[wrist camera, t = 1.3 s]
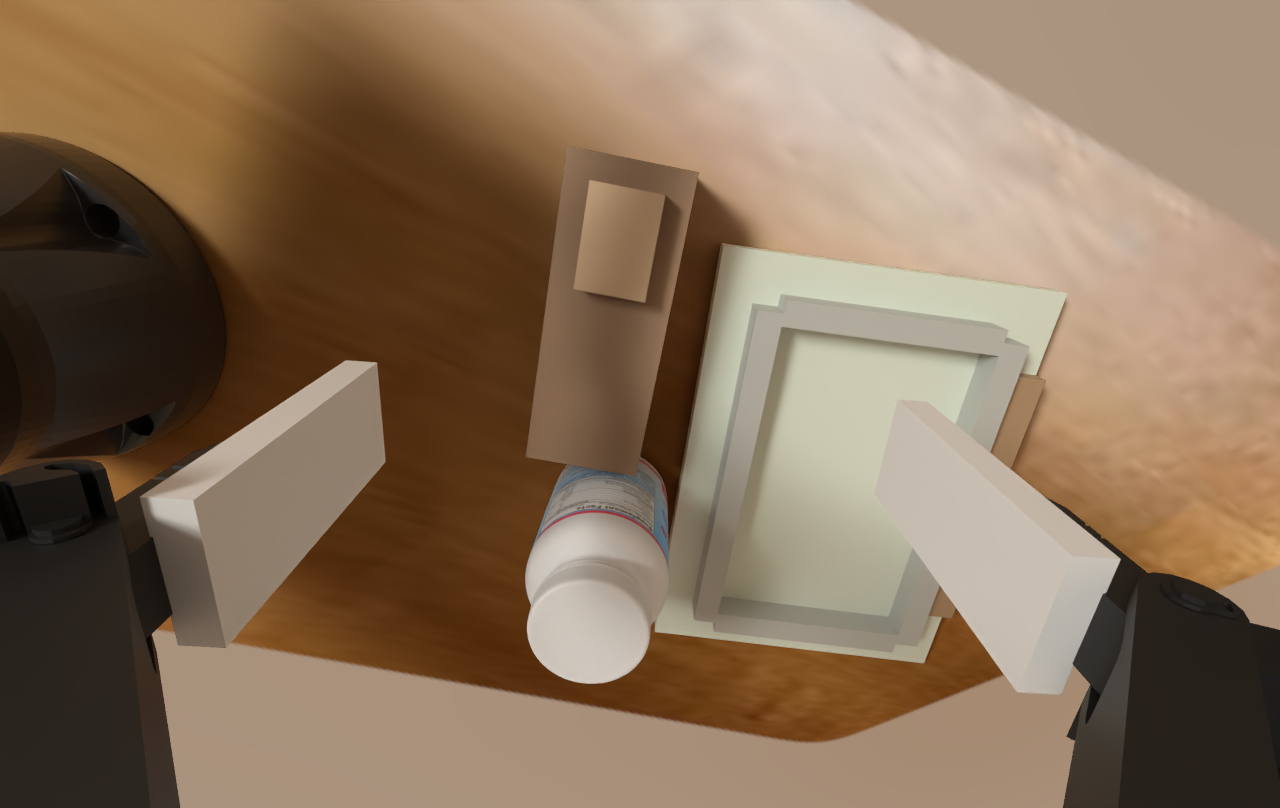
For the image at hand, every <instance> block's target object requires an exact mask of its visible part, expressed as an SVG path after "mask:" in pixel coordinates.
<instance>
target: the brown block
mask: <svg viewBox="0 0 1280 808" xmlns="http://www.w3.org/2000/svg"><path fill="white" fill-rule="evenodd" d="M698 175H699V172H695V171H690V170H685V169H680V168H675V167H670V166H665V165H660V164H655V163H650V162H645V161H640V160H635V159H630V158H625V157H620V156H615V155H610V154H606V153H601V152H596V151H591V150H586V149H581V148H576V147H571V146H567V149H566V156H565V164H564V171H563V179H562V186H561V194H560V201H559V209H558V217H557V224H556V232H555V239H554V247H553V254H552V262H551V270H550V277H549V285H548V292H547V300H546V307H545V315H544V322H543V330H542V338H541V345H540V353H539V360H538V368H537V375H536V383H535V390H534V398H533V406H532V413H531V421H530V428H529V436H528V443H527V451H526V457H528V458H534V459H540V460H545V461H551V462H557V463H563V464H568V465H574V466H580V467H586V468H591V469H597V470H603V471H609V472H614V473H620V474H626V475H632V476H636V473H637V468H638V464H639V459H640V454H641V449H642V444H643V440H644V435H645V430H646V425H647V420H648V415H649V411H650V406H651V401H652V396H653V391H654V387H655V382H656V377H657V372H658V367H659V363H660V358H661V353H662V348H663V343H664V338H665V334H666V329H667V324H668V319H669V314H670V310H671V305H672V300H673V295H674V290H675V285H676V281H677V276H678V271H679V266H680V261H681V257H682V252H683V247H684V242H685V237H686V232H687V228H688V223H689V218H690V213H691V208H692V204H693V199H694V194H695V189H696V184H697V179H698Z"/></svg>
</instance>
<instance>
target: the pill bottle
mask: <svg viewBox="0 0 1280 808" xmlns="http://www.w3.org/2000/svg"><path fill="white" fill-rule="evenodd" d="M525 584H526V591H527V595H528V599H529V601H530V604H531V609H530V613H529V617H528V621H527V635H528V640H529V643H530V646H531V649H532V651H533V652H534V654H535V656H536V657H537V659H538V660H539V661H540V662H541V663H542V664H543V665H544V666H545V667H546V668H547V669H549V670H550V671H551V672H553V673H554V674H556V675H558V676H560V677H562V678H564V679H567V680H570V681H573V682H578V683H587V684H596V683H605V682H609V681H613V680H616V679H618V678H620V677H622V676H624V675H626V674H627V673H629V672H630V671H632V670H633V669H634V668H635V667H636V666H637V665H638V664H639V663H640V661H641V660H642V659H643V657H644V655H645V653H646V651H647V648H648V645H649V641H650V627H651V625H652V623H653V622H654V621H655V620H656V619H657V617H658V616H659V614H660V612H661V611H662V609H663V606H664V604H665V601H666V598H667V593H668V586H669V550H668V504H667V492H666V488H665V485H664V482H663V480H662V478H661V476H660V474H659V473H658V471H657V470H656V469H655V468H654V467H653V466H652V465H651V464H650V463H649V462H648V461H646V460H645V459H643V458H642V457H640V459H639V464H638V468H637V473H636V476H632V475H626V474H620V473H614V472H609V471H603V470H597V469H591V468H586V467H580V466H574V465H567V466H566V467H565V468H564V469H563V471H562V472H561V474H560V476H559V478H558V480H557V482H556V485H555V488H554V490H553V493H552V495H551V498H550V501H549V503H548V506H547V508H546V511H545V514H544V517H543V520H542V522H541V525H540V528H539V531H538V534H537V536H536V539H535V542H534V545H533V547H532V550H531V553H530V556H529V560H528V563H527V567H526V574H525Z"/></svg>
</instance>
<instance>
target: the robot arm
mask: <svg viewBox="0 0 1280 808" xmlns="http://www.w3.org/2000/svg"><path fill="white" fill-rule="evenodd" d="M224 354H225V325H224V317H223V311H222V307H221V303H220V299H219V296H218V292H217V289H216V286H215V284H214V281H213V278H212V276H211V274H210V272H209V269H208V267H207V265H206V263H205V261H204V259H203V257H202V256H201V254H200V252H199V250H198V249H197V247H196V246H195V244H194V242H193V241H192V239H191V238H190V236H189V235H188V234H187V232H186V231H185V229H184V228H183V227H182V226H181V224H180V223H179V222H178V221H177V219H176V218H175V217H174V216H173V215H172V214H171V212H170V211H169V210H168V209H167V208H166V207H165V206H164V205H163V204H162V203H161V202H160V201H159V200H158V199H157V198H156V197H155V196H154V195H153V194H152V193H151V192H149V191H148V190H147V189H146V188H145V187H144V186H142V185H141V184H140V183H139V182H137V181H136V180H135V179H134V178H132V177H131V176H129V175H128V174H127V173H125V172H124V171H122V170H121V169H119V168H118V167H116V166H114V165H113V164H111V163H110V162H108V161H106V160H104V159H102V158H101V157H99V156H97V155H95V154H93V153H91V152H88V151H86V150H84V149H82V148H79V147H77V146H74V145H72V144H69V143H66V142H63V141H59V140H56V139H52V138H48V137H44V136H38V135H32V134H23V133H9V132H0V808H180V803H179V796H178V790H177V783H176V777H175V770H174V763H173V757H172V750H171V743H170V737H169V730H168V724H167V717H166V711H165V704H164V697H163V691H162V684H161V678H160V671H159V665H158V658H157V652H156V648H155V644H154V641H153V637H152V633H153V632H154V631H155V630H156V629H157V628H158V627H159V626H160V625H161V624H162V623H164V622H165V621H166V620H167V619H168V618H169V617H170V616H171V619H172V623H173V627H174V631H175V635H176V638H177V642H178V645H184V646H202V647H219V648H226V647H228V645H229V644H230V643H231V642H232V641H233V640H234V638H235V637H236V636H237V635H238V634H239V633H240V631H241V630H242V629H243V628H244V627H245V626H246V624H247V623H248V622H249V621H250V620H251V619H252V617H253V616H254V615H255V614H256V613H257V612H258V610H259V609H260V608H261V607H262V606H263V605H264V603H265V602H266V601H267V600H268V599H269V598H270V596H271V595H272V594H273V593H274V592H275V591H276V589H277V588H278V587H279V586H280V585H281V584H282V582H283V581H284V580H285V579H286V578H287V577H288V575H289V574H290V573H291V572H292V571H293V569H294V568H295V567H296V566H297V565H298V564H299V562H300V561H301V560H302V559H303V558H304V557H305V555H306V554H307V553H308V552H309V551H310V550H311V548H312V547H313V546H314V545H315V544H316V543H317V541H318V540H319V539H320V538H321V537H322V536H323V534H324V533H325V532H326V531H327V530H328V529H329V527H330V526H331V525H332V524H333V523H334V522H335V520H336V519H337V518H338V517H339V516H340V515H341V513H342V512H343V511H344V510H345V509H346V508H347V506H348V505H349V504H350V503H351V502H352V501H353V499H354V498H355V497H356V496H357V495H358V494H359V492H360V491H361V490H362V489H363V488H364V487H365V485H366V484H367V483H368V482H369V481H370V480H371V478H372V477H373V476H374V475H375V474H376V473H377V471H378V470H379V469H380V468H381V467H382V466H383V464H384V463H385V462H386V459H385V448H384V436H383V425H382V414H381V402H380V391H379V379H378V368H377V363H376V362H362V361H348V360H346V361H344V362H343V363H341V364H340V365H338V366H337V367H335V368H333V369H332V370H330V371H329V372H327V373H326V374H324V375H323V376H321V377H320V378H318V379H317V380H315V381H314V382H312V383H311V384H309V385H308V386H306V387H305V388H303V389H302V390H300V391H299V392H297V393H296V394H294V395H293V396H291V397H290V398H288V399H287V400H285V401H284V402H282V403H281V404H279V405H278V406H276V407H275V408H273V409H272V410H270V411H269V412H267V413H266V414H264V415H263V416H261V417H259V418H258V419H256V420H255V421H253V422H252V423H250V424H249V425H247V426H246V427H244V428H243V429H241V430H240V431H238V432H237V433H235V434H234V435H232V436H231V437H229V438H228V439H226V440H225V441H223V442H219V443H216V444H214V445H211V446H208V447H206V448H203V449H200V450H198V451H195V452H193V453H191V454H190V455H188V456H186V457H185V458H183V459H182V460H180V461H179V462H177V463H175V464H174V465H172V468H168V469H166V470H165V471H163V472H161V473H160V474H158V475H157V476H155V480H154V479H151V480H149V481H147V482H146V483H144V484H143V485H141V486H140V487H138V488H136V489H135V490H133V491H132V492H130V493H129V494H127V495H126V496H124V497H122V498H121V499H119V500H118V501H116V502H115V501H114V497H113V494H112V490H111V487H110V483H109V480H108V476H107V472H106V469H105V468H104V466H103V465H102V464H101V463H99V462H95V461H96V460H102V459H107V458H112V457H116V456H120V455H123V454H126V453H129V452H132V451H134V450H137V449H140V448H142V447H144V446H146V445H148V444H150V443H152V442H154V441H155V440H157V439H159V438H161V437H163V436H165V435H167V434H168V433H170V432H172V431H174V430H176V429H177V428H179V427H181V426H182V425H184V424H185V423H186V422H188V421H189V420H190V419H191V418H193V417H194V416H195V415H196V414H197V413H198V412H199V411H200V410H201V409H202V407H203V406H204V405H205V403H206V402H207V401H208V399H209V398H210V396H211V394H212V393H213V391H214V389H215V387H216V385H217V382H218V379H219V377H220V374H221V370H222V366H223V361H224ZM874 494H875V496H876V497H877V499H878V500H879V501H880V503H881V504H882V506H883V507H884V508H885V510H886V511H887V513H888V514H889V515H890V517H891V518H892V520H893V521H894V522H895V524H896V525H897V526H898V528H899V529H900V531H901V532H902V533H903V535H904V536H905V538H906V539H907V540H908V542H909V543H910V545H911V546H912V547H913V549H914V550H915V551H916V553H917V554H918V556H919V557H920V558H921V560H922V561H923V563H924V564H925V565H926V567H927V568H928V570H929V571H930V572H931V574H932V575H933V576H934V578H935V579H936V581H937V582H938V583H939V585H940V586H941V588H942V589H943V590H944V592H945V593H946V595H947V596H948V597H949V599H950V600H951V602H952V603H953V604H954V606H955V607H956V608H957V610H958V611H959V613H960V614H961V615H962V617H963V618H964V620H965V621H966V622H967V624H968V625H969V627H970V628H971V629H972V631H973V632H974V633H975V635H976V636H977V638H978V639H979V640H980V642H981V643H982V645H983V646H984V647H985V649H986V650H987V652H988V653H989V654H990V656H991V657H992V658H993V660H994V661H995V663H996V664H997V665H998V667H999V668H1000V670H1001V671H1002V672H1003V674H1004V675H1005V677H1006V678H1007V679H1008V681H1009V682H1010V683H1011V685H1012V686H1013V688H1014V689H1015V690H1016V692H1018V693H1036V694H1053V695H1061V694H1062V692H1063V690H1064V687H1065V685H1066V683H1067V681H1068V678H1069V676H1070V674H1071V672H1072V669H1073V667H1074V666H1075V667H1076V668H1077V670H1078V671H1079V672H1080V673H1081V674H1082V675H1083V676H1084V678H1085V679H1086V680H1087V681H1088V682H1089V683H1090V686H1089V689H1088V691H1087V693H1086V695H1085V697H1084V699H1083V702H1082V704H1081V706H1080V708H1079V710H1078V712H1077V715H1076V717H1075V719H1074V721H1073V723H1072V726H1071V728H1070V730H1069V732H1068V734H1067V737H1069V738H1070V739H1072V740H1075V744H1074V750H1073V756H1072V761H1071V767H1070V772H1069V778H1068V783H1067V788H1066V794H1065V799H1064V805H1063V808H1280V630H1278V629H1274V628H1269V627H1265V626H1261V625H1257V624H1253V623H1250V622H1249V619H1248V618H1247V616H1246V615H1245V613H1244V611H1243V610H1242V609H1241V608H1239V607H1238V606H1237V605H1236V604H1234V603H1233V602H1232V601H1231V600H1229V599H1228V598H1226V597H1224V596H1223V595H1221V594H1219V593H1217V592H1216V591H1214V590H1212V589H1210V588H1208V587H1206V586H1203V585H1201V584H1198V583H1196V582H1194V581H1191V580H1188V579H1185V578H1181V577H1178V576H1174V575H1171V574H1163V573H1155V572H1154V573H1147V572H1146V571H1145V570H1143V569H1142V568H1141V567H1140V566H1138V565H1137V564H1136V563H1135V562H1133V561H1132V560H1131V559H1130V558H1128V557H1127V556H1126V555H1125V554H1123V553H1122V552H1121V551H1120V550H1118V549H1117V548H1116V547H1115V546H1113V545H1112V544H1111V543H1110V542H1108V541H1107V540H1106V539H1102V538H1101V535H1100V534H1098V533H1097V532H1096V531H1095V530H1093V529H1092V528H1091V527H1090V526H1085V522H1083V521H1082V520H1081V519H1080V518H1078V517H1077V516H1076V515H1075V514H1073V513H1072V512H1071V511H1070V510H1068V509H1067V508H1065V507H1064V506H1062V505H1060V504H1058V503H1056V502H1054V501H1052V500H1050V499H1048V498H1046V497H1045V496H1043V495H1041V494H1040V493H1039V492H1038V491H1037V490H1035V489H1034V488H1033V487H1032V486H1030V485H1029V484H1028V483H1027V482H1026V481H1024V480H1023V479H1022V478H1021V477H1019V476H1018V475H1017V474H1016V473H1014V472H1013V471H1012V470H1011V469H1010V468H1008V467H1007V466H1006V465H1005V464H1003V463H1002V462H1001V461H1000V460H998V459H997V458H996V457H995V456H994V455H992V454H991V453H990V452H989V451H987V450H986V449H985V448H984V447H983V446H981V445H980V444H979V443H978V442H976V441H975V440H974V439H973V438H971V437H970V436H969V435H968V434H967V433H965V432H964V431H963V430H962V429H960V428H959V427H958V426H957V425H955V424H954V423H953V422H952V421H951V420H949V419H948V418H947V417H946V416H944V415H943V414H942V413H941V412H940V411H938V410H937V409H936V408H935V407H933V406H932V405H931V404H930V403H928V402H927V401H914V400H899V399H898V400H897V404H896V408H895V412H894V416H893V420H892V424H891V428H890V432H889V436H888V440H887V444H886V448H885V452H884V456H883V460H882V464H881V468H880V472H879V476H878V480H877V484H876V488H875V492H874Z"/></svg>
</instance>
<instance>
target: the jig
mask: <svg viewBox="0 0 1280 808" xmlns="http://www.w3.org/2000/svg"><path fill="white" fill-rule="evenodd" d="M1067 294H1068V293H1065V292H1062V291H1059V290H1055V289H1049V288H1042V287H1034V286H1027V285H1020V284H1013V283H1006V282H999V281H991V280H984V279H977V278H970V277H963V276H955V275H948V274H941V273H934V272H927V271H919V270H912V269H905V268H898V267H891V266H884V265H876V264H869V263H862V262H855V261H848V260H840V259H833V258H826V257H819V256H812V255H805V254H797V253H790V252H783V251H776V250H769V249H761V248H754V247H747V246H740V245H733V244H725V243H721V246H720V252H719V258H718V263H717V269H716V275H715V280H714V286H713V292H712V297H711V303H710V309H709V314H708V320H707V326H706V331H705V337H704V343H703V348H702V354H701V360H700V365H699V371H698V377H697V382H696V388H695V394H694V399H693V405H692V411H691V417H690V422H689V428H688V434H687V439H686V445H685V451H684V456H683V462H682V468H681V473H680V479H679V485H678V490H677V496H676V502H675V507H674V513H673V519H672V524H671V530H670V536H669V541H668V550H669V586H668V593H667V598H666V601H665V604H664V606H663V609H662V611H661V612H660V614H659V616H658V617H657V619H656V620H655V632H660V633H669V634H678V635H686V636H695V637H703V638H712V639H720V640H729V641H737V642H746V643H754V644H763V645H771V646H780V647H789V648H797V649H806V650H814V651H823V652H831V653H840V654H848V655H857V656H865V657H874V658H882V659H891V660H900V661H908V662H917V663H924V662H925V660H926V657H927V654H928V652H929V649H930V647H931V644H932V641H933V639H934V636H935V634H936V631H937V629H938V626H939V623H940V621H941V618H942V617H944V618H952V617H953V614H954V612H955V609H956V607H955V606H954V604H953V603H952V602H951V600H950V599H949V597H948V596H947V595H946V593H945V592H944V590H943V589H942V588H941V586H940V585H939V583H938V582H937V581H936V579H935V578H934V576H933V575H932V574H931V572H930V571H929V570H928V568H927V567H926V565H925V564H924V563H923V561H922V560H921V558H920V557H919V556H918V554H917V553H916V551H915V550H914V549H913V547H912V546H911V545H910V543H909V542H908V540H907V539H906V538H905V536H904V535H903V533H902V532H901V531H900V529H899V528H898V526H897V525H896V524H895V522H894V521H893V520H892V518H891V517H890V515H889V514H888V513H887V511H886V510H885V508H884V507H883V506H882V504H881V503H880V501H879V500H878V499H877V497H876V496H875V494H874V492H875V488H876V484H877V480H878V476H879V472H880V468H881V464H882V460H883V456H884V452H885V448H886V444H887V440H888V436H889V432H890V428H891V424H892V420H893V416H894V412H895V408H896V404H897V400H898V399H899V400H914V401H927V402H928V403H930V404H931V405H932V406H933V407H935V408H936V409H937V410H938V411H940V412H941V413H942V414H943V415H944V416H946V417H947V418H948V419H949V420H951V421H952V422H953V423H954V424H955V425H957V426H958V427H959V428H960V429H962V430H963V431H964V432H965V433H967V434H968V435H969V436H970V437H971V438H973V439H974V440H975V441H976V442H978V443H979V444H980V445H981V446H983V447H984V448H985V449H986V450H987V451H989V452H990V453H991V454H992V455H994V456H995V457H996V458H997V459H998V460H1000V461H1001V462H1002V463H1003V464H1005V465H1006V466H1007V467H1008V468H1010V469H1011V468H1012V465H1013V463H1014V460H1015V458H1016V455H1017V453H1018V450H1019V448H1020V445H1021V443H1022V440H1023V438H1024V435H1025V432H1026V430H1027V427H1028V425H1029V422H1030V420H1031V417H1032V415H1033V412H1034V410H1035V407H1036V405H1037V402H1038V400H1039V397H1040V395H1041V392H1042V390H1043V387H1044V385H1045V382H1046V380H1044V379H1042V378H1040V377H1038V376H1036V374H1037V371H1038V368H1039V366H1040V363H1041V361H1042V358H1043V356H1044V353H1045V350H1046V348H1047V345H1048V343H1049V340H1050V338H1051V335H1052V332H1053V330H1054V327H1055V325H1056V322H1057V320H1058V317H1059V314H1060V312H1061V309H1062V307H1063V304H1064V302H1065V299H1066V296H1067Z"/></svg>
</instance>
